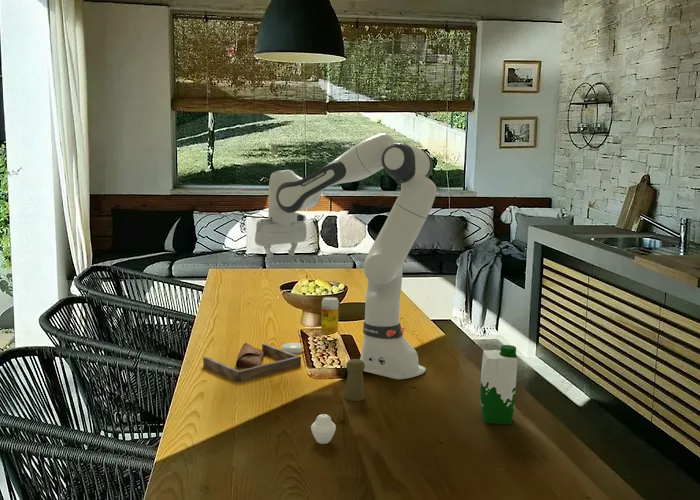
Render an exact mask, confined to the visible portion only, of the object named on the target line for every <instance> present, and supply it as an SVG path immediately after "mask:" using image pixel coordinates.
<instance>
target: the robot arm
mask: <svg viewBox="0 0 700 500" xmlns="http://www.w3.org/2000/svg"><path fill="white" fill-rule="evenodd" d="M433 166H434V165H433V159H432V157H431V156H430V154H429V153H427V151H425V150H423V149H420V148H419V147H417V146H415V145H413V144H409V143H408V144H407V143H404V142H396V140H395V138H394V137H392V135H390V134H388V133H385V132H384V133H383V132H381V133H378V134H374V135H372V136H370V137H368V138H366V139H364V140H362V141H359V142H358V143H357V144H355V145H353V146H352V147H350V148H349V149H347V150H346V151H344V152H343V153H342V154H340V155H339V156H338V157H336V158H335V159H334V160H332V161H331V162H329V163H328V164H327V165H325V166H323V167H322V168H320V169H317V170H316V171H314V172H312V173H310V174H309V175H307V176H305V177H301V176H300V175H298V174H297V173H295V172H294V171H293V170H292V169H284V170H282V169H281V170H276V171H273V172H272V173H271V175H270V177H269V182H268V199H269V205H268V217H267V218H263V217H262V218H260V219H259V220H258V221H257V222H256V228H255V229H256V230H255V234H254V235H255V236H254V243H255V244H256V246H259V247H260V246H261V247H263V248H264V251H265V252H266V258H268V259H273V258H274V252H272V250H271V249H272V246H274V245H275V246H276V245H285V244H290V245H291V247H290V249H288V250H287V251H288V252H287V253H288V255H289V256H294V255H295V254H296V253H295V251H296V250H297V247H298V243H301V242H305V241H306V239H307V224H306V220H307V217H306V215H304V214H301V213H299V212H298V211H303V210H308V209H312V208H315V207H317V205H318V204H319V202H320V201H321V196H322V194H321V192H322V191H324V190H326V189H328V188H330V187H333V186H335V185H340V184H346V183H352V182H353V183H354V182H359V181H361V180H364V179H366V178H368V177H371V176H372V175H374V174H376V173H378V172H379V171H381V170H383V169H384V171H385V172H386V173H387V175H389V176H390V177H391V178H392V179H393V180H394V181H395V183H397V184H400V186H401V189H400V192H399V194H398V196H397V197H396V200H395V202H394V204H393V206H392V208H391V210H390V212H389V214H388V216H387V218H386V220H385V222H384V224H383V226H382V228H381V229H380V231H379V232H378V235H377V236H376V239H375V240H374V242H373V244H372V245H371V248H370V249H369V251H368V253H367V255H366V257H365V259H364V262H363V273H364V275H365V277H366V278H367V286H366V293H365V304H364V305H365V307H364V308H365V310H364V311H365V312H364V320H363V326H362V329H363V330H362V333H363V340H362V348H361V353H360V357H359V360H362V361H363V362H364V364H365V368H364V371H363V372H365V373H366V372H367V373H371V374H374V375H378V376H381V377H386V378H389V379H394V380H405V379H410V378H415V377H418V376H420V375H421V376H422V375H424V374H425V372H426V369H427V368H426V367H424V366H423V365H420V364H419V355H418V352H417V351H416V349H415V348H414V347H413V346H412V345H411V344H410V342H409V341H408V340H407V339H406V338H405V337H404V336H403V335H404V333H403V332H406V330H405V329H406V327H402V326H401V323H400V308H401V307H400V306H401V305H400V303H401V293H402V292H401V291H402V284H403V283H402V282H403V270H404V262H405V260H406V259H407V257H408V255H409V253H410V251H411V250H412V247H413V245H414V243H415V241H416V239H417V237H418V236H419V234H420V232H421V229H422V228H423V226H424V225H425V222H426V221H427V218H428V216H429V215H430V212H431V209H432V208H433V204H434V201H435V200H436V195H437V192H438V191H437V186H436V184H435V183H434V181H432V179H430V178H429V176H430V175H431V173H432V172H433Z"/></svg>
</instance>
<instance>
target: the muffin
mask: <svg viewBox="0 0 700 500" xmlns="http://www.w3.org/2000/svg"><path fill="white" fill-rule="evenodd" d="M310 429H311V434H312V435H313V437H314V439H315V440H316V443H319V444H321V445H326V444H328V443H330V442H331V440H332V439H333V436H334V435H335V432H336V430H337V425H336V424H335V423H334V422H333V421H332V418H331V416H330V415H328V414H327V413H326V414H325V413H321V414H319V415H317V416H316V419H315V421H314V422H313V423H312V424H311V425H310Z"/></svg>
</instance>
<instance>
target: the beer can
mask: <svg viewBox="0 0 700 500" xmlns="http://www.w3.org/2000/svg"><path fill="white" fill-rule="evenodd" d="M339 303H340V302H339V299H338V297H336V296H335V297H334V296H325V297H323V298H322V301H321V320H320V321H321V323H320V324H321V325H320V326H321V328H320V329H321V330H320V334H321V333H322V334H324V335H330V334H334V333H336V332H338V333H339V305H340V304H339Z"/></svg>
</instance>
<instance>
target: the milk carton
mask: <svg viewBox="0 0 700 500" xmlns="http://www.w3.org/2000/svg"><path fill="white" fill-rule="evenodd" d="M518 362H519V361H518V357H517V347H516V346H514V345H510V344H504V345H501V346H500V349H499V350H498V349H490V350H488V349H484V350H483V353H482V360H481V371H480V372H481V373H480V389H479V392H480V393H479V404H480V413H481V416H482V419H483V422H484V423H485V424H493V425H494V424H495V425H512V424H513V420H514V419H513V418H514V411H515V406H516V405H515V403H516V390H517V372H518Z"/></svg>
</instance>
